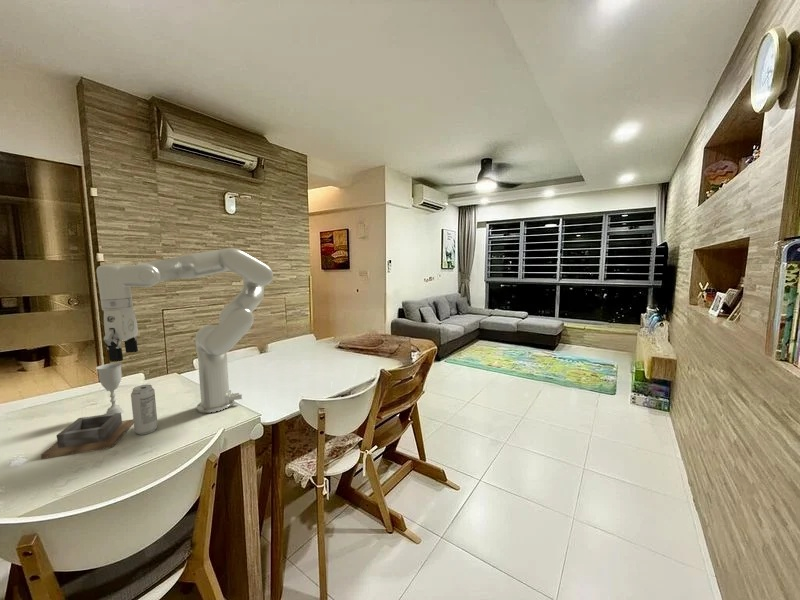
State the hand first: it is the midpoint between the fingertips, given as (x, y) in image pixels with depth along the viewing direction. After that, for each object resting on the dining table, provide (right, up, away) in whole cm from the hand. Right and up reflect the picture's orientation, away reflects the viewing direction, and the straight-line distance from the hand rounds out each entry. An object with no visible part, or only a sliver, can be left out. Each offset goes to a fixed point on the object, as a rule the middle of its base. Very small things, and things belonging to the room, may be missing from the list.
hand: (124, 356), depth 103 cm
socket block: (-8, -26, -3) cm, 27 cm away
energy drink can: (+5, -25, +2) cm, 26 cm away
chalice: (-16, -24, +14) cm, 32 cm away
